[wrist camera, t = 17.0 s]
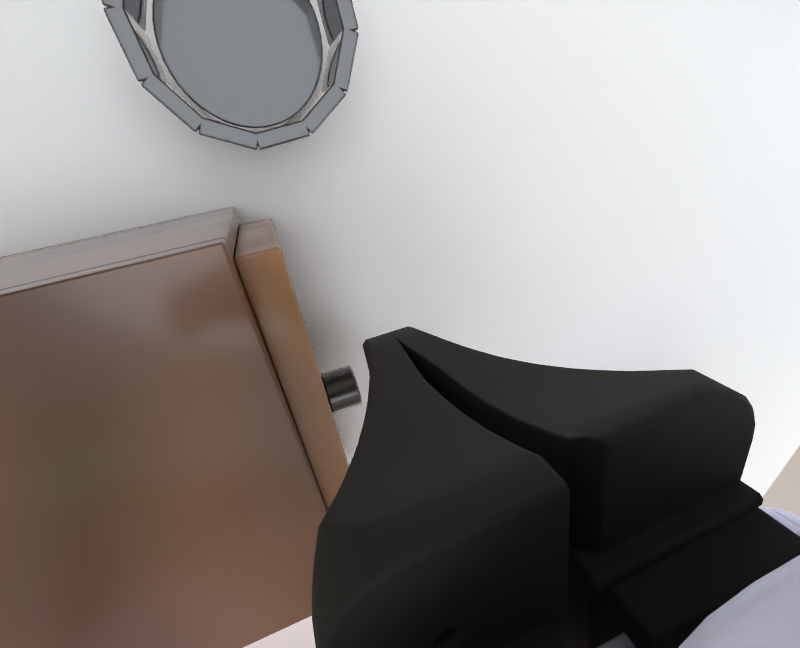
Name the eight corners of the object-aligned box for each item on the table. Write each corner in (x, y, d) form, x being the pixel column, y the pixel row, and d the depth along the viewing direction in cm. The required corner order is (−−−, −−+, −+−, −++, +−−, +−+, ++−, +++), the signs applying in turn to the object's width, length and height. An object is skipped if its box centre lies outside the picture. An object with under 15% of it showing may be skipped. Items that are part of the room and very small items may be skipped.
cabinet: (234, 206, 15) (223, 241, 9) (328, 474, 21) (357, 595, 15) (-173, 295, 12) (-553, 426, 6) (74, 571, 19) (-6, 763, 13)
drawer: (303, 210, 15) (324, 236, 11) (371, 459, 21) (404, 543, 16) (-96, 302, 12) (-292, 388, 8) (111, 560, 18) (66, 693, 14)
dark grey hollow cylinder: (353, 68, 15) (397, 34, 10) (260, 179, 15) (264, 191, 11) (225, -87, 12) (211, -222, 8) (115, 53, 12) (42, 0, 8)
